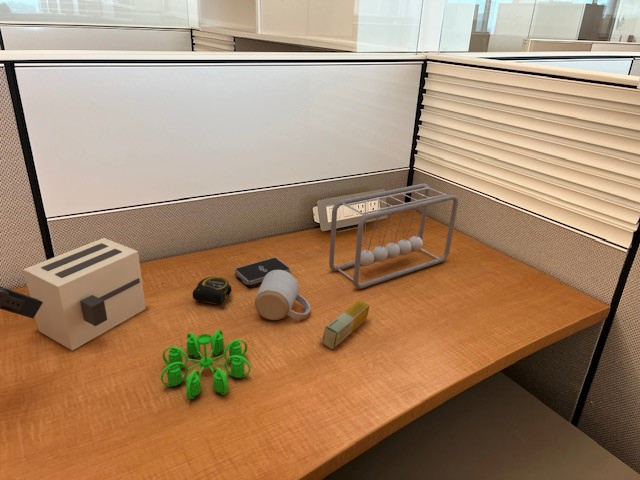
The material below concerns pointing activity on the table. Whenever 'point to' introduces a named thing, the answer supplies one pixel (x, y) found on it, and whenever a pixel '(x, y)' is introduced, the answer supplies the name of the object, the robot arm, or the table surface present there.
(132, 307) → the toaster
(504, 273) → the table surface
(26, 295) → the robot arm
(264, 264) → the external hard drive
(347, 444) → the table surface
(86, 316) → the slider button
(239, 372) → the chandelier
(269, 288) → the ceramic mug
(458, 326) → the table surface
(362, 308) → the medication box
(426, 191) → the newton's cradle
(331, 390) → the table surface
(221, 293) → the tape measure
